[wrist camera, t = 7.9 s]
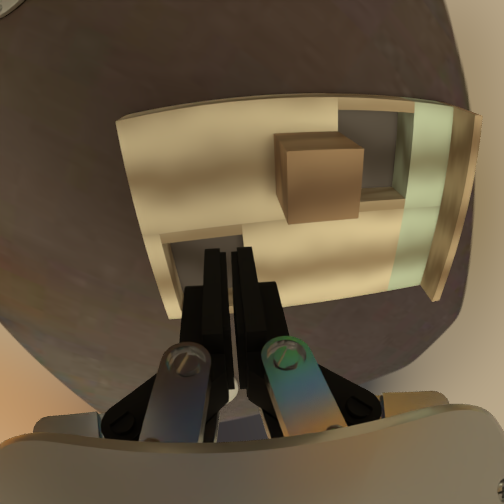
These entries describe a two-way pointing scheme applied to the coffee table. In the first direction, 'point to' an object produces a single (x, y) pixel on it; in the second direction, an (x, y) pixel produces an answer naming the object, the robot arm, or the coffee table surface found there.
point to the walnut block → (318, 176)
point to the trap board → (268, 207)
